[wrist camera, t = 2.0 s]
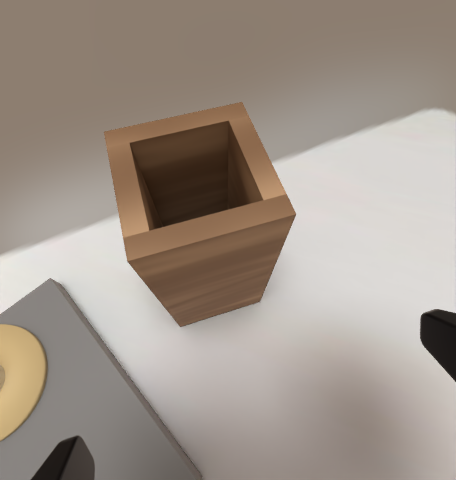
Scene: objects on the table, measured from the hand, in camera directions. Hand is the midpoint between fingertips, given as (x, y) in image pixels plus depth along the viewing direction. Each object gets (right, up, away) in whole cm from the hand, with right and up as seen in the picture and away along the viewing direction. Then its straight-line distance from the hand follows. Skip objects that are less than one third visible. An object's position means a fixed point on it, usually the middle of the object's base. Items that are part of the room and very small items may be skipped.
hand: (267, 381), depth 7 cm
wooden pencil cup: (-2, +1, +15) cm, 15 cm away
